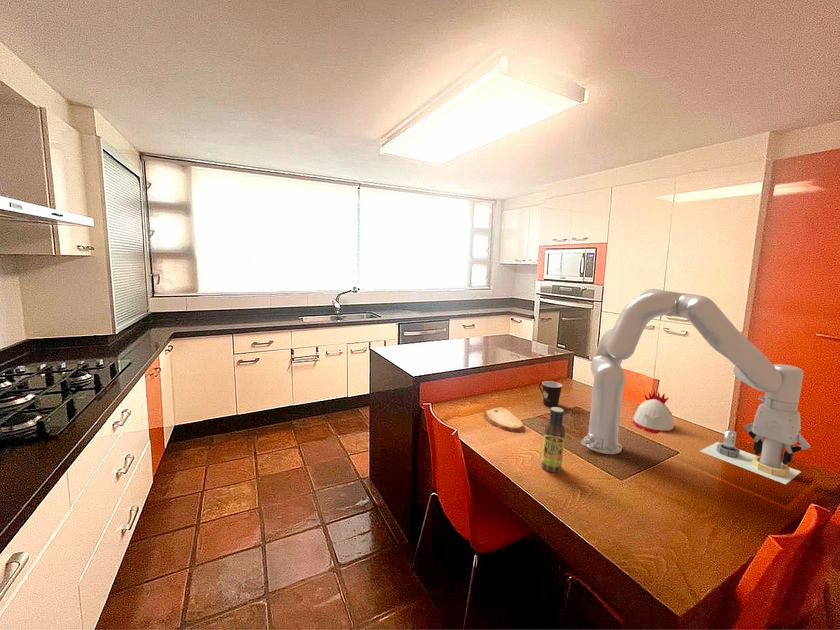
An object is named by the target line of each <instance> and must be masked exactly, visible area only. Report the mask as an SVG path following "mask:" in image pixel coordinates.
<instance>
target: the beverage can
mask: <svg viewBox="0 0 840 630" xmlns="http://www.w3.org/2000/svg"><path fill="white" fill-rule="evenodd" d="M762 442H763V444H762V451H761V453H760V463H761V464H763V465H766V466H769V467H772V468H777V469H780V467H781V462H782V463H783V457H784V452H785V451H784V450H785V444H783V443H780V442H777V441H774V440H770V439H767V438H764V437H763V439H762Z"/></svg>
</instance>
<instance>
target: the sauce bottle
mask: <svg viewBox="0 0 840 630" xmlns="http://www.w3.org/2000/svg"><path fill="white" fill-rule="evenodd" d="M549 413H550V414H549V416H550V417H549V422H548V423H547V424H546V425H545V428H544V433H543V443H542V452H541V467H542V468H543V469H544V470H546V471H548V472H552V473H559V472H560V471H561V469H562V465H563V457H564V450H565V441H566V438H565V436H566V429H565V428H564V425H563V418H564V415H565V409H563V408H561V407H550V410H549Z"/></svg>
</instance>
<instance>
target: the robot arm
mask: <svg viewBox="0 0 840 630" xmlns="http://www.w3.org/2000/svg"><path fill="white" fill-rule="evenodd" d="M663 316H669V317H675V318H677V317H678V318H683V319H686V320H688V321H689V322H690V324H692V325H693V327H694V328H695V329H696V330H697V331H698V333H699V334H700V335H701V337H703V339H704V340H705V341H706V342H707V344H708V345H709V346H710V347H711V348H712V349H714V350H715V352H718V353H719V354H721V355H722V356H723V357H725V358H726V359H728V361H730V362H731V363H732V364H733V365H734V367H733V375H735V377H736V378H737V380H739V381H740V382H742V383H744V384H746V385H747V386H749V387H751V388H753V389H755V390H756V391H759V392H763V393H764V395H758V398H757V399H758V400H760V401H761V402H762V403H760V404H759V405H758V407H757V409H756V413H755V415H754V420H753V422H750V423H748V424H745V425H743V429H744V430H745V431H746V432H747V433H748V435H749V436H750V437H751V438H752V441H753V442H754V443H753V451H754V455H756V456H759V455H761V451H762V445H763V439H764V438H767V439H770V440H774V441H777V442H780V443H783V444H785V446H784V448H785V449H786V450H785V451H783V457H782V463H783V464H784V465H788V464H791V463H792V460H793V456H794V453H797V452H799V451H800V452H801V451H803V450H807V449H809V448H811V445H810V443H809V442H808V441H807V440H806V439H805V438H804V437H803V435H802V433H801V429H802V427H801V420H802V419H801V412H800V411H798V407H799V403H800V396H801V390H802V387H803V385H802V384H803V379H804V370H803V369H802V368H800V367H797V366H794V365H790V364H789V365H788V364H782V363H774V364H773V363H772V362H771V361H770V360H769V359H768V357H767V356H766V355H765V354H764V353H763V352H762V351H761V350H760V349H759V348H758V347H757V346H755V345H754V343H752V342H751V341H750V340H749V339H748V338H747V337H746V336H745V335H744V334H743V333H741V332H740V331H739V330H738V329H737V327H736V326H735V325H734V324H733V322H731V320H730V319H729V318H728V316H726V315H725V313H724V312H723V311H722V310H721V309H720V307H719V306H717V304H716V303H715V302H714V301H713V300H712V299H711V298H709V296H704V295H699V294H695V293H686V292H684V293H683V292H676V291H670V290H664V289H663V290H662V289H657V288H650V289H647V290H645V291H643V292H642V293H641V294H640V295H639V296H638V297H635V298H634V299H632V300H631V301H629V302H628V303H627V304H626V305H625V306H624V308H623V309H622V310H621V311H620V314H619V316H618V318H617V320H616V322H615V324H614V326H613V327H612V328H611V329H608V330H607V331H606V332H605V333H603V335H602V336H601V338H600V340H599V343H598V345H597V348H596V350H595V353H594V354H593V358H592V360H591V363H590V370H591V373H592V375H593V384H592V388H591V389H592V391H591V396H590V413H589V423H588V433H587V435H584V437H583V438H582V439H581V440H580V443H581V446H585V447H586V448H587V449H589V450H592V451H593V452H596V453H600V454H604V455H618V454H620V453H621V452H622V450H623V446H622V444H621V443H620V442H618V439H619V433H620V432H619V431H620V429H619V428H620V422H621V421H620V419H621V410H622V409H621V408H622V399H623V395H624V388H625V384H626V374H625V371H624V369H623V367H622V366H621V364H622V362H623V361H625V360H628V359H629V358H631V357H632V356H633V354H634V353H635V351H636V349H637V346H638V343H639V342H640V339H641V337H642V334H643V332H644V330H645V329H646V327H647V325H648V323H650V321H652V320H653V319H655V318H657V317H663ZM796 443H800V445H796V446H795V444H796Z"/></svg>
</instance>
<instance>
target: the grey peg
mask: <svg viewBox="0 0 840 630" xmlns="http://www.w3.org/2000/svg"><path fill="white" fill-rule="evenodd" d="M736 438H737V431H734V429H733V430H732V429H724V435H723V441H722V444H723V448H724V449H727V450H730V451H734V447H736V446H735V445H736V440H737V439H736Z"/></svg>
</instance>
